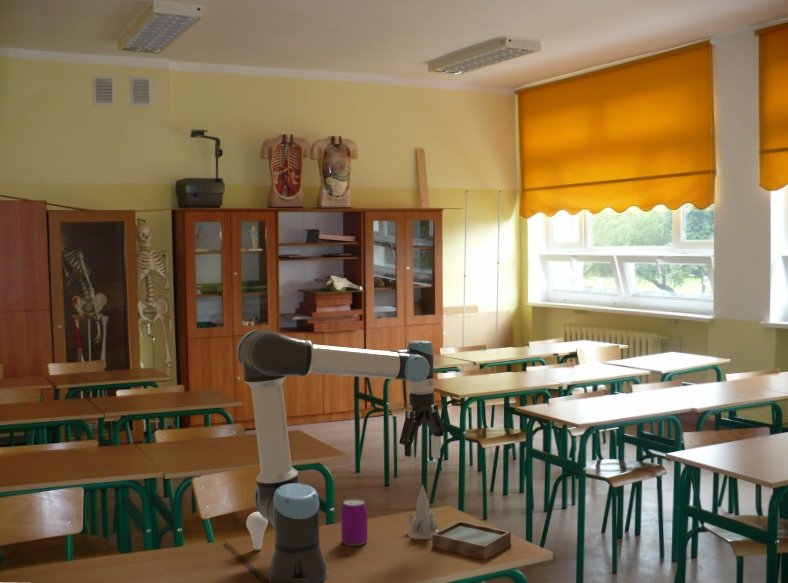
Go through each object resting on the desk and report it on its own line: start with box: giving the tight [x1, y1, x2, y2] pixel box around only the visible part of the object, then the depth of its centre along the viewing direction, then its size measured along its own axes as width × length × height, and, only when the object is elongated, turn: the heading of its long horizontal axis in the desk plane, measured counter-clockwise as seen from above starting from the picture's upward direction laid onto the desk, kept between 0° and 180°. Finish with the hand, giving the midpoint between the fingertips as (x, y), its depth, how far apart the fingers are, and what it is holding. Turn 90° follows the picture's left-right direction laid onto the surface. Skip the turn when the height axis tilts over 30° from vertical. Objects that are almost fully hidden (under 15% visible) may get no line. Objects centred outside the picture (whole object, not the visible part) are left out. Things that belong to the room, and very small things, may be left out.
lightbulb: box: [245, 511, 269, 551], centre depth 228 cm, size 6×6×11 cm
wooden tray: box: [431, 520, 512, 561], centre depth 229 cm, size 18×15×4 cm
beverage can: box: [340, 498, 369, 547], centre depth 233 cm, size 8×8×12 cm
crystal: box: [406, 484, 440, 540], centre depth 239 cm, size 10×13×15 cm
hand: (423, 462), depth 238 cm, fingers open, 13 cm apart
